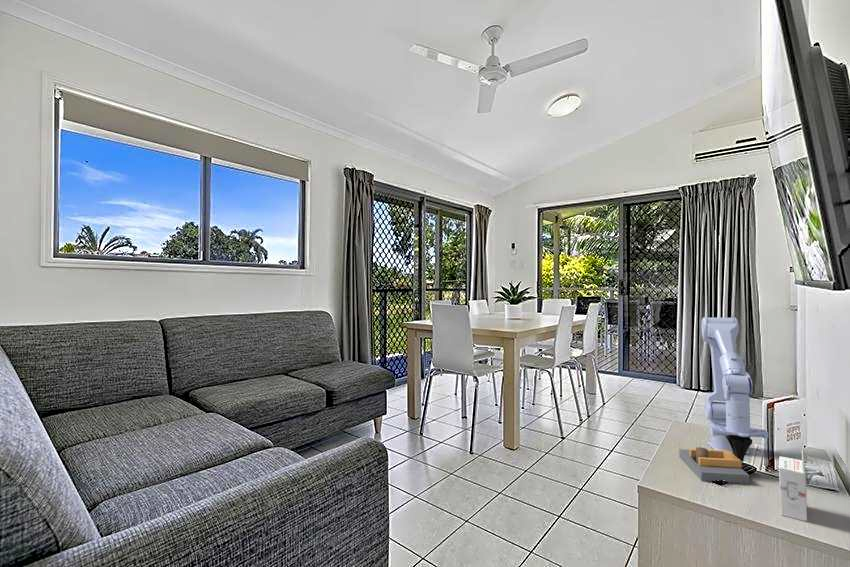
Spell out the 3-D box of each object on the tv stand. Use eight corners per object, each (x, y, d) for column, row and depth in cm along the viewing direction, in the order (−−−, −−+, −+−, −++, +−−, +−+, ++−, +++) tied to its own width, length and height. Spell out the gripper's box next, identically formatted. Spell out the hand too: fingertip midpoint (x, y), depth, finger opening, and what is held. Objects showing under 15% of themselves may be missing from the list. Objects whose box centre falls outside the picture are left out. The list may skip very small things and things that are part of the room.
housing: (721, 459, 131) (720, 451, 131) (749, 484, 115) (749, 475, 115) (679, 457, 133) (679, 449, 133) (701, 480, 118) (701, 472, 118)
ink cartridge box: (779, 500, 107) (778, 443, 106) (805, 506, 103) (804, 448, 103) (779, 515, 100) (778, 455, 100) (807, 522, 97) (806, 460, 97)
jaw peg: (695, 466, 127) (695, 446, 127) (707, 467, 125) (706, 448, 125) (697, 470, 124) (696, 450, 124) (709, 472, 123) (708, 451, 123)
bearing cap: (728, 457, 126) (728, 450, 126) (741, 467, 119) (741, 460, 119) (689, 455, 129) (689, 448, 129) (699, 465, 122) (699, 458, 122)
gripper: (716, 418, 120) (718, 464, 120) (774, 420, 117) (775, 468, 117) (705, 410, 127) (706, 454, 127) (759, 412, 124) (760, 457, 124)
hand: (738, 460), depth 123 cm, fingers closed
